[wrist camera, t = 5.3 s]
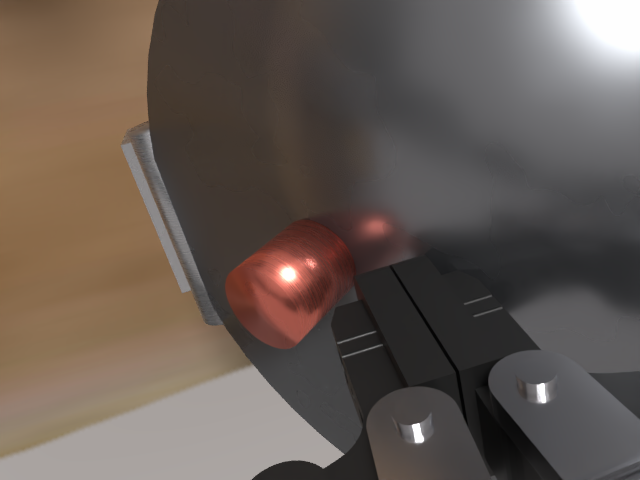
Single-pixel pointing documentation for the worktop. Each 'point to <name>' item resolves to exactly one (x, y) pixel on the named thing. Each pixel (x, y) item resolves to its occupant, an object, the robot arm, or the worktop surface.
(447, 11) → the lid
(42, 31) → the worktop surface
